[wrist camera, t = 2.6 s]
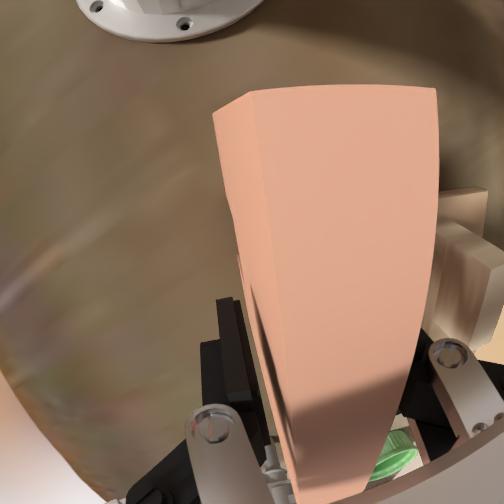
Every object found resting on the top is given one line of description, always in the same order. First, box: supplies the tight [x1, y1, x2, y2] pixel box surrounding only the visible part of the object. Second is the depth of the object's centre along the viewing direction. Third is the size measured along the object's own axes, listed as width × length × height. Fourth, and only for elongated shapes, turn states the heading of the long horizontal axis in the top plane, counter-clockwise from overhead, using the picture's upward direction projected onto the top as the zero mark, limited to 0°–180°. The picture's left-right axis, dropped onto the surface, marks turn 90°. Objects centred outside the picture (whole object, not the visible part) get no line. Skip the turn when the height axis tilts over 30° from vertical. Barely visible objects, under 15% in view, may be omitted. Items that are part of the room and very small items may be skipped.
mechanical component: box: [263, 437, 297, 504], centre depth 26 cm, size 3×10×10 cm, turn 95°
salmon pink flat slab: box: [212, 85, 439, 504], centre depth 13 cm, size 14×2×15 cm, turn 8°
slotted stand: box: [421, 186, 504, 351], centre depth 20 cm, size 18×15×10 cm
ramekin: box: [368, 430, 418, 482], centre depth 35 cm, size 9×9×4 cm
